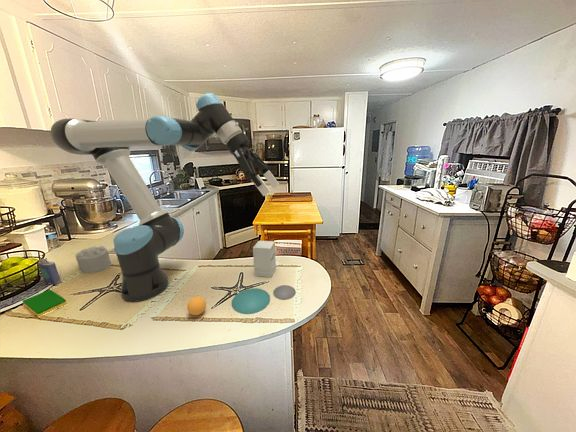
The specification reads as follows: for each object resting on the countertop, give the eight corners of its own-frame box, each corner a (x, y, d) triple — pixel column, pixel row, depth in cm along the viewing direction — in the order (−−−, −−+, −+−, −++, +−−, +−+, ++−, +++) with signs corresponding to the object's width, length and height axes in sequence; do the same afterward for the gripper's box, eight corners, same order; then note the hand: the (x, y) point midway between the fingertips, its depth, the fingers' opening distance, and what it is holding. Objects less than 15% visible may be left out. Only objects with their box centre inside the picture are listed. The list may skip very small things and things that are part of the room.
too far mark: (276, 301, 75) (276, 301, 75) (270, 288, 82) (270, 288, 82) (298, 296, 78) (298, 295, 78) (291, 283, 85) (291, 283, 85)
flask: (63, 282, 91) (54, 258, 87) (54, 286, 88) (44, 261, 85) (51, 278, 94) (41, 255, 91) (41, 281, 91) (31, 258, 88)
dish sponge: (39, 319, 71) (36, 313, 71) (24, 306, 78) (21, 300, 77) (68, 305, 77) (66, 299, 77) (52, 294, 84) (50, 289, 83)
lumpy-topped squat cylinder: (105, 258, 109) (100, 242, 107) (116, 265, 102) (111, 248, 100) (77, 268, 101) (71, 250, 99) (87, 276, 94) (81, 258, 92)
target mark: (233, 318, 69) (233, 317, 68) (229, 293, 80) (229, 293, 80) (274, 307, 72) (274, 307, 72) (265, 285, 84) (265, 285, 84)
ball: (188, 321, 68) (185, 306, 66) (189, 309, 73) (186, 295, 71) (207, 316, 70) (204, 301, 68) (207, 305, 75) (204, 291, 73)
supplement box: (271, 277, 89) (270, 248, 86) (254, 275, 91) (251, 247, 87) (276, 268, 96) (275, 241, 93) (260, 266, 98) (258, 240, 94)
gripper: (225, 128, 62) (271, 190, 65) (254, 133, 86) (287, 178, 88) (207, 145, 64) (252, 204, 67) (240, 145, 88) (272, 189, 91)
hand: (272, 189), depth 78 cm, fingers open, 13 cm apart
